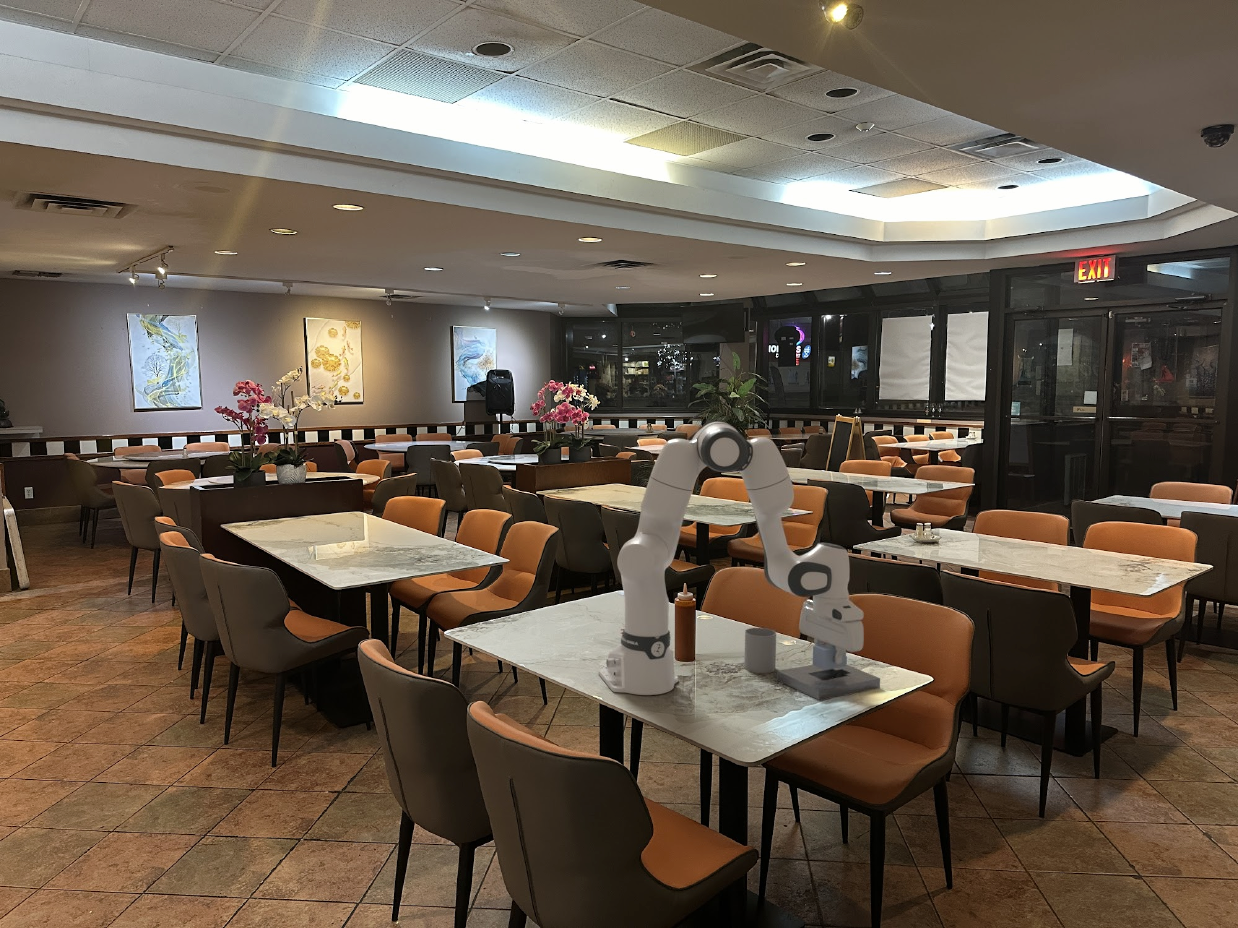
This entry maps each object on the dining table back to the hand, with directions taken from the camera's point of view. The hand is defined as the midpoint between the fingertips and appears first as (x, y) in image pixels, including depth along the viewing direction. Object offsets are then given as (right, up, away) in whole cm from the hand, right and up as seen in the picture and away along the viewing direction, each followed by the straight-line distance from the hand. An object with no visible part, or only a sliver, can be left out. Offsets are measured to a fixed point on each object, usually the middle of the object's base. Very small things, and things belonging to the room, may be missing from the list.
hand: (829, 659), depth 207 cm
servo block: (0, -2, 0) cm, 2 cm away
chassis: (0, -7, +1) cm, 7 cm away
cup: (-16, -6, +13) cm, 21 cm away
